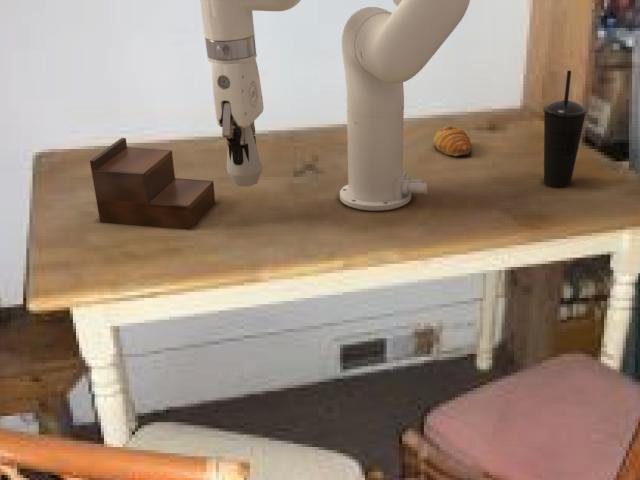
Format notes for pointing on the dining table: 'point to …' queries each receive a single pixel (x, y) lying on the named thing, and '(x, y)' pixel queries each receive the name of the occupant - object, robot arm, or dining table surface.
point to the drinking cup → (562, 138)
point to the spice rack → (147, 189)
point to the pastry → (452, 141)
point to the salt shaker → (246, 163)
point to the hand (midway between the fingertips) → (244, 162)
